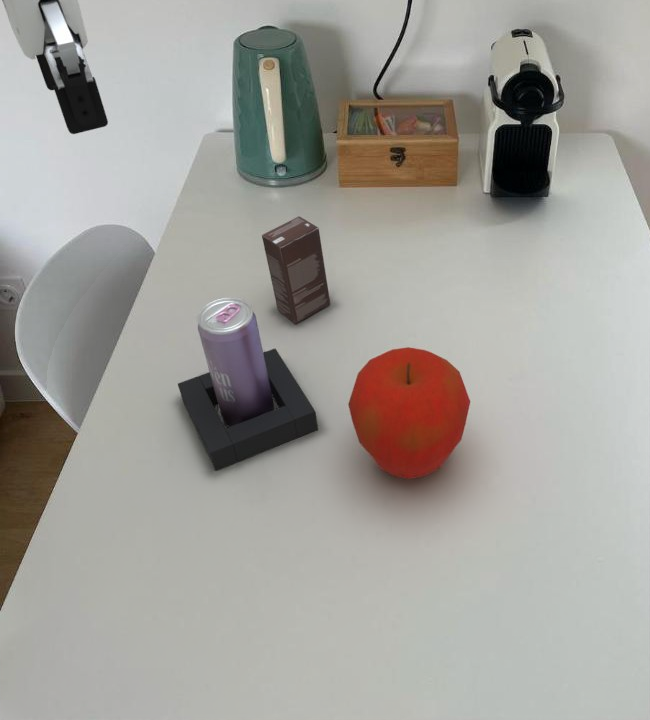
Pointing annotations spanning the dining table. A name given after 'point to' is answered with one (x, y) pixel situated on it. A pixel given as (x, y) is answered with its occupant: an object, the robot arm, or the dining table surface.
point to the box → (297, 268)
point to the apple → (409, 411)
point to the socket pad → (253, 433)
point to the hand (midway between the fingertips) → (77, 106)
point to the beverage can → (235, 359)
